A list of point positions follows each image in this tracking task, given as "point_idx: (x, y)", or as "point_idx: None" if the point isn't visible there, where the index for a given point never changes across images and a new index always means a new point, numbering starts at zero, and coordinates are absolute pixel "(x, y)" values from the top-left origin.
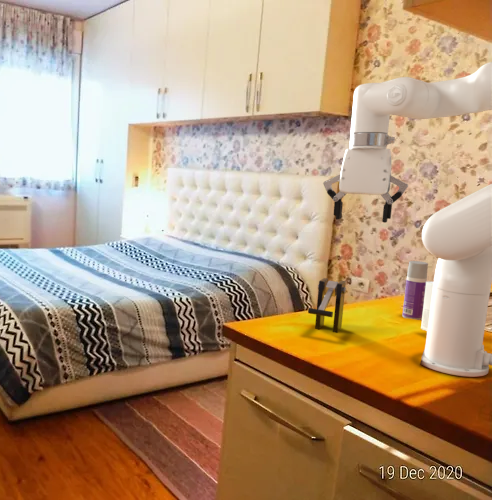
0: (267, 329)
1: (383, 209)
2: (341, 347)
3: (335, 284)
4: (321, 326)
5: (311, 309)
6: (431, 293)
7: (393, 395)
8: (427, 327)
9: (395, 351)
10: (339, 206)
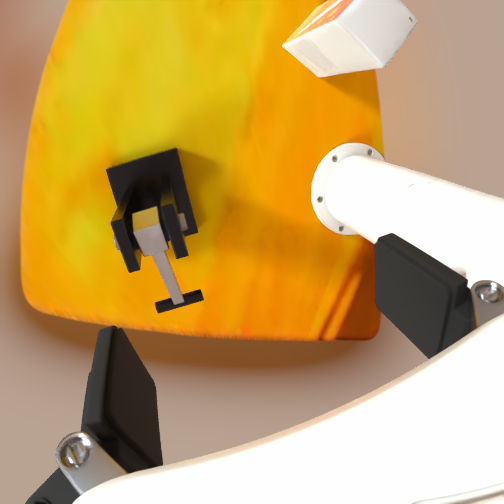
0: (71, 269)
1: (415, 344)
2: (207, 246)
3: (160, 237)
4: (139, 207)
5: (163, 311)
6: (340, 42)
7: (314, 336)
8: (303, 55)
9: (279, 189)
10: (157, 448)
